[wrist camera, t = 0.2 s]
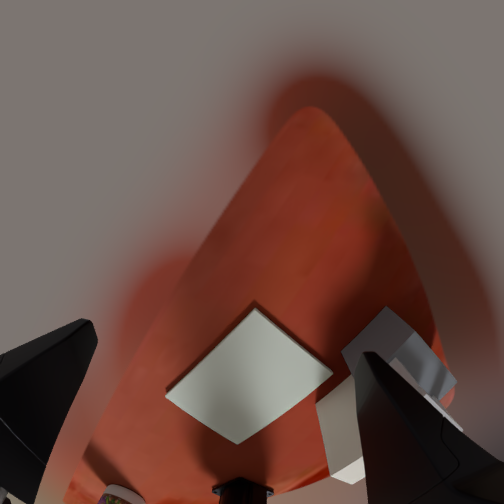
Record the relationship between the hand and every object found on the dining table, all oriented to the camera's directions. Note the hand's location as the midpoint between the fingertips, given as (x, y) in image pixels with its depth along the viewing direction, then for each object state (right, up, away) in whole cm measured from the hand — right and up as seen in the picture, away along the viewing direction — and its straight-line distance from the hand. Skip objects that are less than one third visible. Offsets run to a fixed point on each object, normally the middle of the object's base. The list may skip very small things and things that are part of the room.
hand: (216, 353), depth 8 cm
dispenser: (+15, -7, +16) cm, 23 cm away
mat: (0, -10, +17) cm, 20 cm away
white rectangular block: (+11, -11, +17) cm, 23 cm away
